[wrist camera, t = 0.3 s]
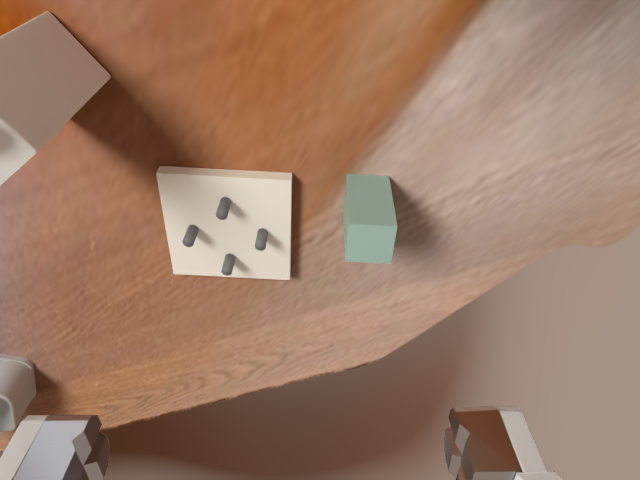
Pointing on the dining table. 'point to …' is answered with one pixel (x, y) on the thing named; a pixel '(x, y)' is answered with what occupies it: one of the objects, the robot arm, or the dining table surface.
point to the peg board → (227, 221)
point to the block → (369, 219)
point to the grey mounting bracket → (15, 389)
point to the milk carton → (41, 87)
